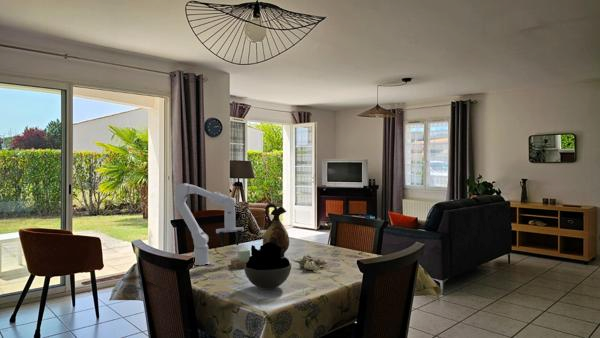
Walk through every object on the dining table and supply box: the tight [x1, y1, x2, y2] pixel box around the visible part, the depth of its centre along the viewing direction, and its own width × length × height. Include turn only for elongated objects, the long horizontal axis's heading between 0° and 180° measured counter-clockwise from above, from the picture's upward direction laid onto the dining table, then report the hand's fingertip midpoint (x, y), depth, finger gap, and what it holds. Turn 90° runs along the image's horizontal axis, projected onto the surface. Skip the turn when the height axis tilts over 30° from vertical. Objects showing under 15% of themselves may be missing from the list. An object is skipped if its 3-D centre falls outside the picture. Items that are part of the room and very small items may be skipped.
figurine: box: [290, 254, 332, 272], centre depth 202 cm, size 20×6×17 cm
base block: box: [230, 257, 249, 270], centre depth 210 cm, size 11×11×3 cm
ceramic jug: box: [262, 203, 290, 258], centre depth 233 cm, size 17×15×30 cm
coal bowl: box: [243, 242, 292, 290], centre depth 171 cm, size 20×20×19 cm
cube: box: [237, 248, 251, 261], centre depth 210 cm, size 5×5×5 cm
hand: (230, 245), depth 215 cm, fingers open, 7 cm apart
